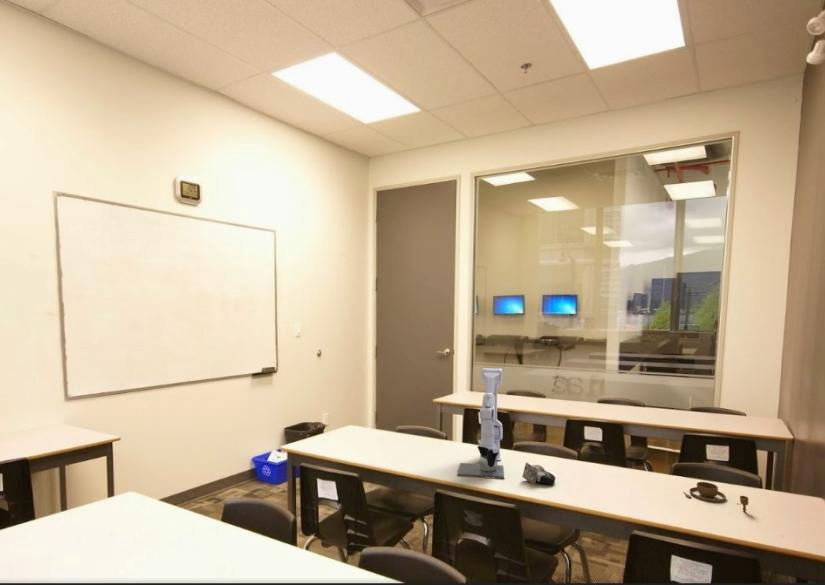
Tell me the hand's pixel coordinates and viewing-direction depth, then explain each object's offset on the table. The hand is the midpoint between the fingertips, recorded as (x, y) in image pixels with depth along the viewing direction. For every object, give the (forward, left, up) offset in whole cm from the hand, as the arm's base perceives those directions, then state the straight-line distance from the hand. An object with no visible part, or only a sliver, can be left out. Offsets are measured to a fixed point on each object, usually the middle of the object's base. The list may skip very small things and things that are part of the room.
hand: (487, 464), depth 202 cm
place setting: (+16, +86, -4) cm, 87 cm away
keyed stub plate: (+1, -3, -3) cm, 4 cm away
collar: (0, 0, -2) cm, 2 cm away
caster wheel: (+8, +22, -3) cm, 24 cm away
